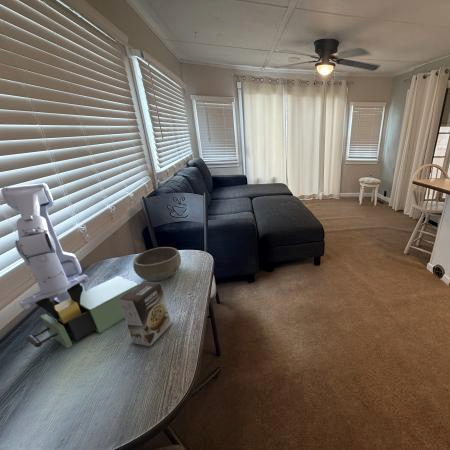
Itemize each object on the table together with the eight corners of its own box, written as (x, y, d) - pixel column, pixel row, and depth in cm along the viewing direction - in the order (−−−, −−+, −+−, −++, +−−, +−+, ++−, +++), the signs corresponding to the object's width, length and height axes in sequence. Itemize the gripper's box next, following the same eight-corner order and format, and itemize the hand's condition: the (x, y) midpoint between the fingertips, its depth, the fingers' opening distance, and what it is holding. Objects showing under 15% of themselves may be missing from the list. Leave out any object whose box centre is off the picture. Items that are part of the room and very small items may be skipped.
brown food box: (151, 346, 70) (136, 301, 64) (132, 343, 71) (116, 299, 65) (172, 324, 78) (161, 282, 72) (155, 321, 79) (143, 280, 74)
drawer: (46, 361, 65) (34, 341, 62) (28, 346, 70) (17, 327, 67) (118, 317, 80) (111, 300, 77) (99, 308, 85) (93, 290, 82)
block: (56, 319, 72) (51, 307, 70) (74, 310, 75) (69, 298, 74) (63, 323, 70) (58, 311, 68) (82, 314, 73) (76, 302, 72)
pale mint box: (99, 333, 75) (90, 309, 72) (79, 320, 80) (69, 298, 77) (145, 304, 87) (138, 283, 84) (125, 295, 92) (118, 275, 89)
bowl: (190, 273, 107) (185, 253, 103) (146, 292, 94) (139, 270, 91) (173, 261, 117) (169, 242, 114) (132, 276, 105) (125, 256, 101)
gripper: (18, 292, 59) (41, 334, 64) (87, 265, 72) (102, 302, 76) (8, 285, 62) (30, 325, 67) (76, 260, 75) (90, 296, 79)
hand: (67, 312), depth 72 cm, fingers closed on block, 4 cm apart
